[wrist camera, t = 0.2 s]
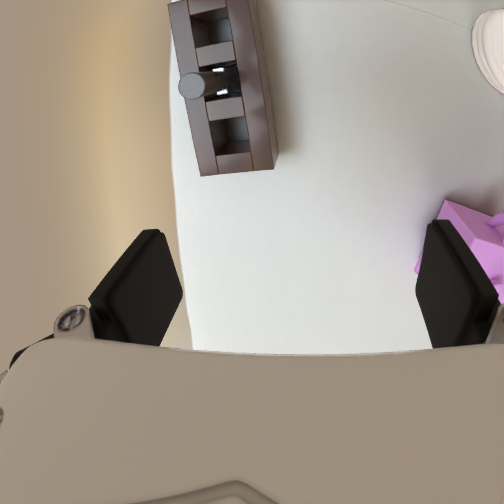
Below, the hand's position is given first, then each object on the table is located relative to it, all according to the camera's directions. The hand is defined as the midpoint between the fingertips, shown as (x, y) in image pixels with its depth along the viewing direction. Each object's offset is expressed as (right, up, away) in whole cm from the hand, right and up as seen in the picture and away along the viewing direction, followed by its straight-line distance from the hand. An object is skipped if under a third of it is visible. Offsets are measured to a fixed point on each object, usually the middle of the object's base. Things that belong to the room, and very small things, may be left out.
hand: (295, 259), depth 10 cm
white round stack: (+25, +22, +8) cm, 34 cm away
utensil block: (-3, +17, +16) cm, 24 cm away
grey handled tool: (-3, +17, +16) cm, 24 cm away
